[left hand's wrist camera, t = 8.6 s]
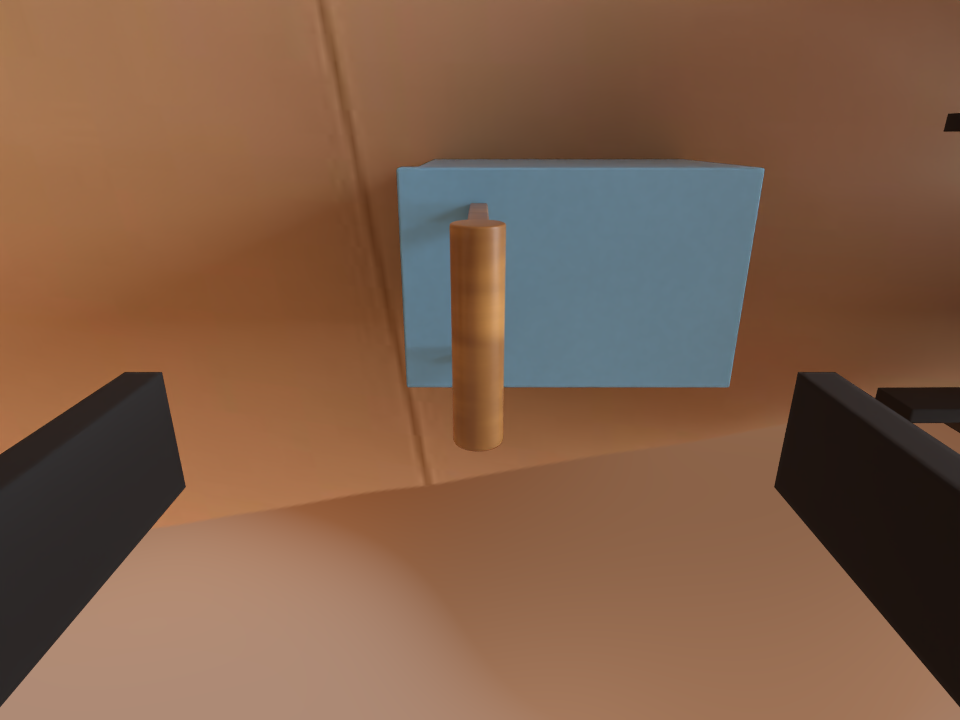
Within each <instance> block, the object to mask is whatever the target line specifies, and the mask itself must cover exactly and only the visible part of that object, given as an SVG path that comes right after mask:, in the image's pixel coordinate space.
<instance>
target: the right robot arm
mask: <svg viewBox="0 0 960 720" xmlns="http://www.w3.org/2000/svg"><path fill="white" fill-rule="evenodd" d="M944 131H960V113H954V114H948V116H947V120H946V124H945V128H944ZM875 399H876V400H878V401H879V402H881V403H882V404H884V405H886V406H887V407H889V408H890V409H892V410H893V411H895V412H896V413H898V414H899V415H901V416H902V417H904V418H905V419H907V420H908V421H910V422H911V423H944V424H946V425H948V426H949V427H951V428H953V429H954V430H956V431H957V432H959V433H960V387H929V388H878V390H877V394H876V398H875Z"/></svg>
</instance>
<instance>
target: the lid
mask: <svg viewBox="0 0 960 720" xmlns="http://www.w3.org/2000/svg"><path fill="white" fill-rule="evenodd" d="M764 171H765V170H764V168H760V167H399V168H397V170H396V172H397V193H398V213H399V234H400V255H401V276H402V297H403V317H404V338H405V359H406V380H407V387H452V390H453V440H454V442H455V444H456V445H457V446H459V447H460V448H462V449H465V450H470V451H487V450H491V449H494V448H496V447H498V446H499V445H500V444H501V442H502V440H503V398H504V387H729V384H730V378H731V372H732V366H733V360H734V354H735V348H736V342H737V336H738V330H739V323H740V317H741V311H742V305H743V299H744V293H745V287H746V281H747V275H748V268H749V262H750V256H751V250H752V244H753V238H754V232H755V226H756V220H757V213H758V207H759V201H760V195H761V189H762V183H763V177H764Z"/></svg>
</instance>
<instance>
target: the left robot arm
mask: <svg viewBox="0 0 960 720" xmlns="http://www.w3.org/2000/svg"><path fill="white" fill-rule="evenodd" d="M185 487H186V486H185V481H184V476H183V471H182V467H181V462H180V457H179V452H178V447H177V443H176V438H175V433H174V428H173V423H172V418H171V414H170V409H169V404H168V399H167V394H166V389H165V385H164V380H163V375H162V372H124V373H123V374H121V375H120V376H118V377H117V378H115V379H114V380H112V381H111V382H109V383H108V384H106V385H105V386H103V387H102V388H100V389H99V390H97V391H96V392H94V393H93V394H91V395H90V396H88V397H87V398H85V399H84V400H82V401H81V402H79V403H78V404H76V405H74V406H73V407H71V408H70V409H68V410H67V411H65V412H64V413H62V414H61V415H59V416H58V417H56V418H55V419H53V420H52V421H50V422H49V423H47V424H46V425H44V426H43V427H41V428H40V429H38V430H37V431H35V432H34V433H32V434H31V435H29V436H28V437H26V438H24V439H23V440H21V441H20V442H18V443H17V444H15V445H14V446H12V447H11V448H9V449H8V450H6V451H5V452H3V453H2V454H0V707H1V705H2V704H3V703H4V702H5V701H6V700H7V698H8V697H9V696H10V695H11V694H12V692H13V691H14V690H15V689H16V688H17V687H18V685H19V684H20V683H21V682H22V681H23V679H24V678H25V677H26V676H27V675H28V673H29V672H30V671H31V670H32V669H33V668H34V666H35V665H36V664H37V663H38V662H39V660H40V659H41V658H42V657H43V656H44V654H45V653H46V652H47V651H48V650H49V649H50V647H51V646H52V645H53V644H54V643H55V641H56V640H57V639H58V638H59V637H60V635H61V634H62V633H63V632H64V631H65V630H66V628H67V627H68V626H69V625H70V624H71V622H72V621H73V620H74V619H75V618H76V616H77V615H78V614H79V613H80V612H81V611H82V609H83V608H84V607H85V606H86V605H87V603H88V602H89V601H90V600H91V599H92V597H93V596H94V595H95V594H96V593H97V592H98V590H99V589H100V588H101V587H102V586H103V584H104V583H105V582H106V581H107V580H108V579H109V577H110V576H111V575H112V574H113V573H114V571H115V570H116V569H117V568H118V567H119V566H120V564H121V563H122V562H123V561H124V560H125V558H126V557H127V556H128V555H129V554H130V552H131V551H132V550H133V549H134V548H135V547H136V545H137V544H138V543H139V542H140V541H141V539H142V538H143V537H144V536H145V535H146V533H147V532H148V531H149V530H150V529H151V528H152V526H153V525H154V524H155V523H156V522H157V520H158V519H159V518H160V517H161V516H162V514H163V513H164V512H165V511H166V510H167V509H168V507H169V506H170V505H171V504H172V503H173V501H174V500H175V499H176V498H177V497H178V496H179V494H180V493H181V492H182V491H183V490H184V488H185ZM774 487H775V488H776V490H777V491H778V492H779V493H780V494H781V496H782V497H783V498H784V499H785V500H786V501H787V503H788V504H789V505H790V506H791V507H792V509H793V510H794V511H795V512H796V513H797V514H798V516H799V517H800V518H801V519H802V520H803V522H804V523H805V524H806V525H807V526H808V528H809V529H810V530H811V531H812V532H813V533H814V535H815V536H816V537H817V538H818V539H819V541H820V542H821V543H822V544H823V545H824V547H825V548H826V549H827V550H828V551H829V552H830V554H831V555H832V556H833V557H834V558H835V560H836V561H837V562H838V563H839V564H840V566H841V567H842V568H843V569H844V570H845V571H846V573H847V574H848V575H849V576H850V577H851V579H852V580H853V581H854V582H855V583H856V584H857V586H858V587H859V588H860V589H861V590H862V592H863V593H864V594H865V595H866V596H867V598H868V599H869V600H870V601H871V602H872V603H873V605H874V606H875V607H876V608H877V609H878V611H879V612H880V613H881V614H882V615H883V617H884V618H885V619H886V620H887V621H888V622H889V624H890V625H891V626H892V627H893V628H894V630H895V631H896V632H897V633H898V634H899V635H900V637H901V638H902V639H903V640H904V641H905V643H906V644H907V645H908V646H909V647H910V649H911V650H912V651H913V652H914V653H915V654H916V656H917V657H918V658H919V659H920V660H921V662H922V663H923V664H924V665H925V666H926V667H927V669H928V670H929V671H930V672H931V673H932V675H933V676H934V677H935V678H936V679H937V681H938V682H939V683H940V684H941V685H942V686H943V688H944V689H945V690H946V691H947V692H948V694H949V695H950V696H951V697H952V698H953V700H954V701H955V702H956V703H957V704H958V705H959V707H960V454H958V453H957V452H955V451H954V450H952V449H951V448H949V447H948V446H946V445H945V444H943V443H942V442H940V441H939V440H937V439H936V438H934V437H932V436H931V435H929V434H928V433H926V432H925V431H923V430H922V429H920V428H919V427H917V426H916V425H914V424H913V423H911V422H910V421H908V420H907V419H905V418H904V417H902V416H901V415H899V414H898V413H896V412H895V411H893V410H892V409H890V408H889V407H887V406H886V405H884V404H882V403H881V402H879V401H878V400H876V399H875V398H873V397H872V396H870V395H869V394H867V393H866V392H864V391H863V390H861V389H860V388H858V387H857V386H855V385H854V384H852V383H851V382H849V381H848V380H846V379H845V378H843V377H842V376H840V375H839V374H837V373H836V372H798V375H797V380H796V385H795V389H794V394H793V399H792V404H791V409H790V414H789V418H788V423H787V428H786V433H785V438H784V443H783V447H782V452H781V457H780V462H779V467H778V472H777V476H776V481H775V486H774Z"/></svg>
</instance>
